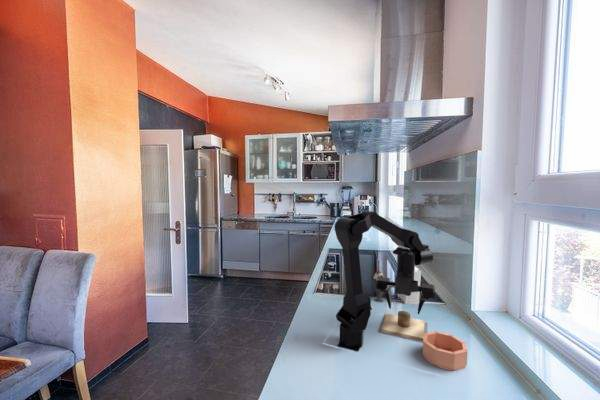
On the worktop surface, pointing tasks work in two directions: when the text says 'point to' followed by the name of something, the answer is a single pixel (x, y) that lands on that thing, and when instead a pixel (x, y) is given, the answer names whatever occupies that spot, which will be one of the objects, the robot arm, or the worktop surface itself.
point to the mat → (401, 336)
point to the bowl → (444, 350)
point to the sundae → (375, 278)
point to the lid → (404, 326)
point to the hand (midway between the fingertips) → (403, 311)
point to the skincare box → (414, 296)
